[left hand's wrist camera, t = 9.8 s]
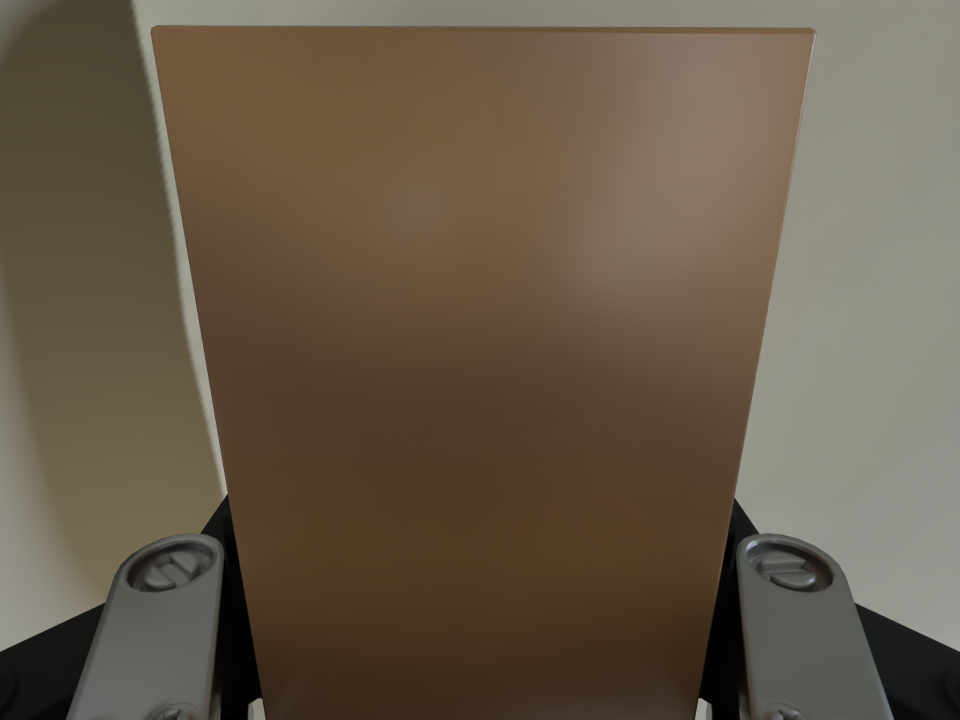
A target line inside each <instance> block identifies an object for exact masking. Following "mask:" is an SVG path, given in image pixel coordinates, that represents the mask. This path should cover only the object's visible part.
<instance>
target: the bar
mask: <svg viewBox="0 0 960 720" xmlns="http://www.w3.org/2000/svg"><path fill="white" fill-rule="evenodd" d="M151 37H152V43H153V49H154V55H155V61H156V67H157V73H158V79H159V85H160V91H161V97H162V103H163V109H164V115H165V121H166V127H167V133H168V139H169V145H170V151H171V157H172V163H173V169H174V175H175V180H176V186H177V192H178V198H179V204H180V210H181V216H182V222H183V228H184V234H185V240H186V246H187V252H188V258H189V264H190V270H191V276H192V282H193V288H194V294H195V300H196V306H197V312H198V318H199V324H200V330H201V336H202V342H203V348H204V354H205V360H206V366H207V371H208V377H209V383H210V389H211V395H212V401H213V407H214V413H215V419H216V425H217V431H218V437H219V443H220V449H221V455H222V461H223V467H224V473H225V479H226V485H227V491H228V497H229V503H230V509H231V515H232V521H233V527H234V533H235V539H236V545H237V551H238V557H239V562H240V568H241V574H242V580H243V586H244V592H245V598H246V604H247V610H248V616H249V622H250V628H251V634H252V640H253V646H254V652H255V658H256V664H257V670H258V676H259V682H260V688H261V694H262V700H263V706H264V712H265V718H266V720H695V715H696V710H697V704H698V698H699V693H700V687H701V682H702V676H703V670H704V665H705V659H706V653H707V648H708V642H709V637H710V631H711V625H712V620H713V614H714V608H715V603H716V597H717V592H718V586H719V580H720V575H721V569H722V563H723V558H724V552H725V547H726V541H727V535H728V530H729V524H730V518H731V513H732V507H733V502H734V496H735V490H736V485H737V479H738V473H739V468H740V462H741V457H742V451H743V445H744V440H745V434H746V429H747V423H748V417H749V412H750V406H751V400H752V395H753V389H754V384H755V378H756V372H757V367H758V361H759V355H760V350H761V344H762V339H763V333H764V327H765V322H766V316H767V310H768V305H769V299H770V294H771V288H772V282H773V277H774V271H775V265H776V260H777V254H778V249H779V243H780V237H781V232H782V226H783V220H784V215H785V209H786V204H787V198H788V192H789V187H790V181H791V175H792V170H793V164H794V159H795V153H796V147H797V142H798V136H799V130H800V125H801V119H802V114H803V108H804V102H805V97H806V91H807V85H808V80H809V74H810V69H811V63H812V57H813V52H814V46H815V40H816V30H814V29H811V28H720V27H458V26H196V25H157V26H155V27H153V28H151Z"/></svg>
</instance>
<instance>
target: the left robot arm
mask: <svg viewBox="0 0 960 720" xmlns="http://www.w3.org/2000/svg"><path fill="white" fill-rule="evenodd" d="M258 698H262V694H261V688H260V682H259V676H258V670H257V664H256V658H255V652H254V646H253V640H252V634H251V628H250V622H249V616H248V610H247V604H246V598H245V592H244V586H243V580H242V574H241V568H240V562H239V557H238V551H237V545H236V539H235V533H234V527H233V521H232V515H231V509H230V503H229V497H228V494H227V495H226V497H225V498H224V500H223V501H222V503H221V504H220V506H219V507H218V509H217V510H216V511H215V513H214V514H213V516H212V517H211V519H210V520H209V522H208V523H207V525H206V526H205V528H204V529H203V530H202V532H201V533H200V534H195V533H190V534H179V535H174V536H171V537H167V538H163V539H160V540H158V541H155V542H153V543H151V544H148V545H146V546H144V547H143V548H141V549H140V550H138V551H136V552H135V553H133V554H132V555H131V556H130V557H129V558H128V559H127V560H125V561H124V562H123V563H122V564H121V566H120V567H119V569H118V571H117V573H116V574H115V576H114V579H113V582H112V585H111V588H110V591H109V594H108V597H107V600H106V603H104V604H101V605H99V606H97V607H95V608H93V609H91V610H89V611H86V612H84V613H82V614H80V615H78V616H76V617H74V618H71V619H69V620H67V621H65V622H63V623H61V624H59V625H56V626H54V627H52V628H50V629H48V630H46V631H44V632H41V633H39V634H37V635H35V636H33V637H31V638H29V639H26V640H24V641H22V642H20V643H18V644H16V645H14V646H12V647H9V648H7V649H5V650H3V651H1V652H0V720H254V710H253V704H252V702H253V701H254V700H256V699H258ZM699 698H702V699H704V700H705V701H707V702H708V704H707V710H706V720H960V652H959V651H957V650H955V649H952V648H950V647H948V646H946V645H944V644H942V643H940V642H937V641H935V640H933V639H931V638H929V637H927V636H925V635H923V634H920V633H918V632H916V631H914V630H912V629H910V628H908V627H905V626H903V625H901V624H899V623H897V622H895V621H893V620H890V619H888V618H886V617H884V616H882V615H880V614H878V613H875V612H873V611H871V610H869V609H867V608H865V607H863V606H860V605H858V604H856V603H854V600H853V597H852V594H851V591H850V588H849V585H848V582H847V579H846V576H845V574H844V573H843V571H842V569H841V567H840V566H839V564H838V563H837V562H836V561H835V560H834V559H832V558H831V557H830V556H829V555H828V554H827V553H825V552H824V551H822V550H820V549H819V548H817V547H816V546H814V545H812V544H809V543H807V542H805V541H802V540H800V539H797V538H793V537H789V536H786V535H781V534H770V533H765V534H759V532H758V531H757V530H756V528H755V527H754V525H753V524H752V522H751V521H750V519H749V518H748V516H747V515H746V514H745V512H744V511H743V509H742V508H741V506H740V505H739V503H738V502H737V500H736V499H735V498H734V502H733V507H732V513H731V518H730V524H729V530H728V535H727V541H726V547H725V552H724V558H723V563H722V569H721V575H720V580H719V586H718V592H717V597H716V603H715V608H714V614H713V620H712V625H711V631H710V637H709V642H708V648H707V653H706V659H705V665H704V670H703V676H702V682H701V687H700V693H699Z"/></svg>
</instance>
